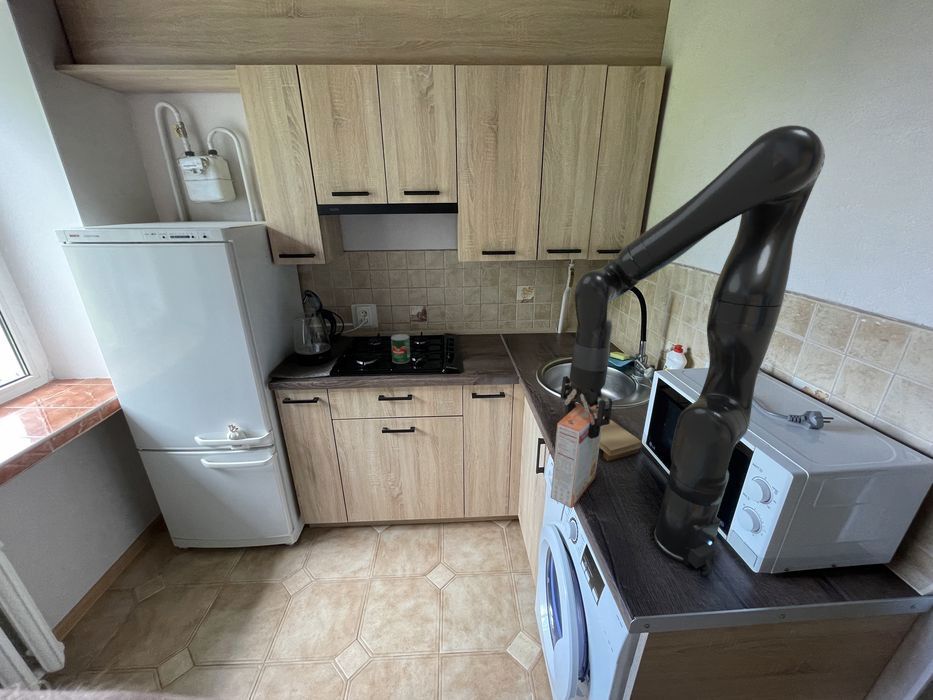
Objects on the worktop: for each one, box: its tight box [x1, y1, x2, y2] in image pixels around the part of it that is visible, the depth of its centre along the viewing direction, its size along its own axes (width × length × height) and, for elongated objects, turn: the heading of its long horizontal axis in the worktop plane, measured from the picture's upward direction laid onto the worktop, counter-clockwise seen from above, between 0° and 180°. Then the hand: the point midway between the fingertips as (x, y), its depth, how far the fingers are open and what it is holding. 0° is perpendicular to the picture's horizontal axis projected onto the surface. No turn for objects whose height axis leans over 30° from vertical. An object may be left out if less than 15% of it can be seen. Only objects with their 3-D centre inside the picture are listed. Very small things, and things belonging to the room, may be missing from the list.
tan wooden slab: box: [599, 419, 643, 462], centre depth 112 cm, size 17×11×4 cm, turn 22°
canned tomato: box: [390, 333, 411, 365], centre depth 167 cm, size 8×8×11 cm
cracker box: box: [550, 403, 604, 509], centre depth 90 cm, size 14×6×21 cm, turn 140°
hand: (580, 427), depth 88 cm, fingers closed on cracker box, 8 cm apart
